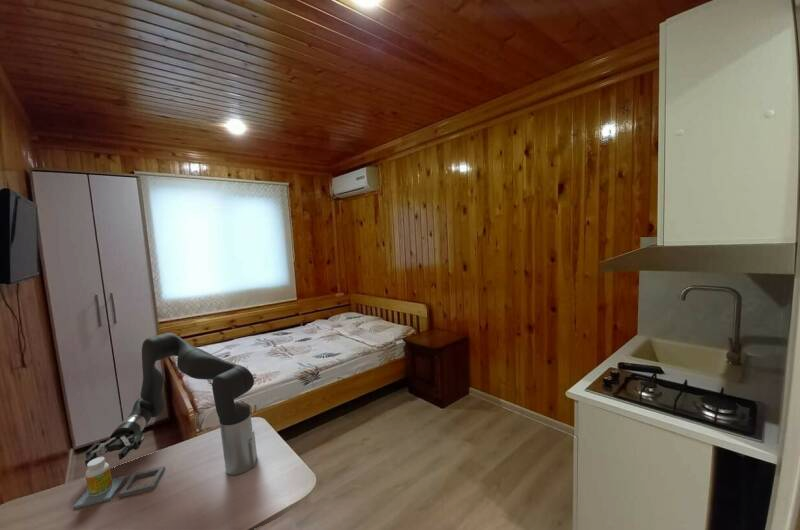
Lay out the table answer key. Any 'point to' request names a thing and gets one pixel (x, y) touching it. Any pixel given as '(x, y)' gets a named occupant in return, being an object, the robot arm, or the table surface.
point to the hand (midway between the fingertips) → (104, 460)
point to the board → (106, 496)
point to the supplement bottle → (98, 477)
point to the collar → (128, 491)
